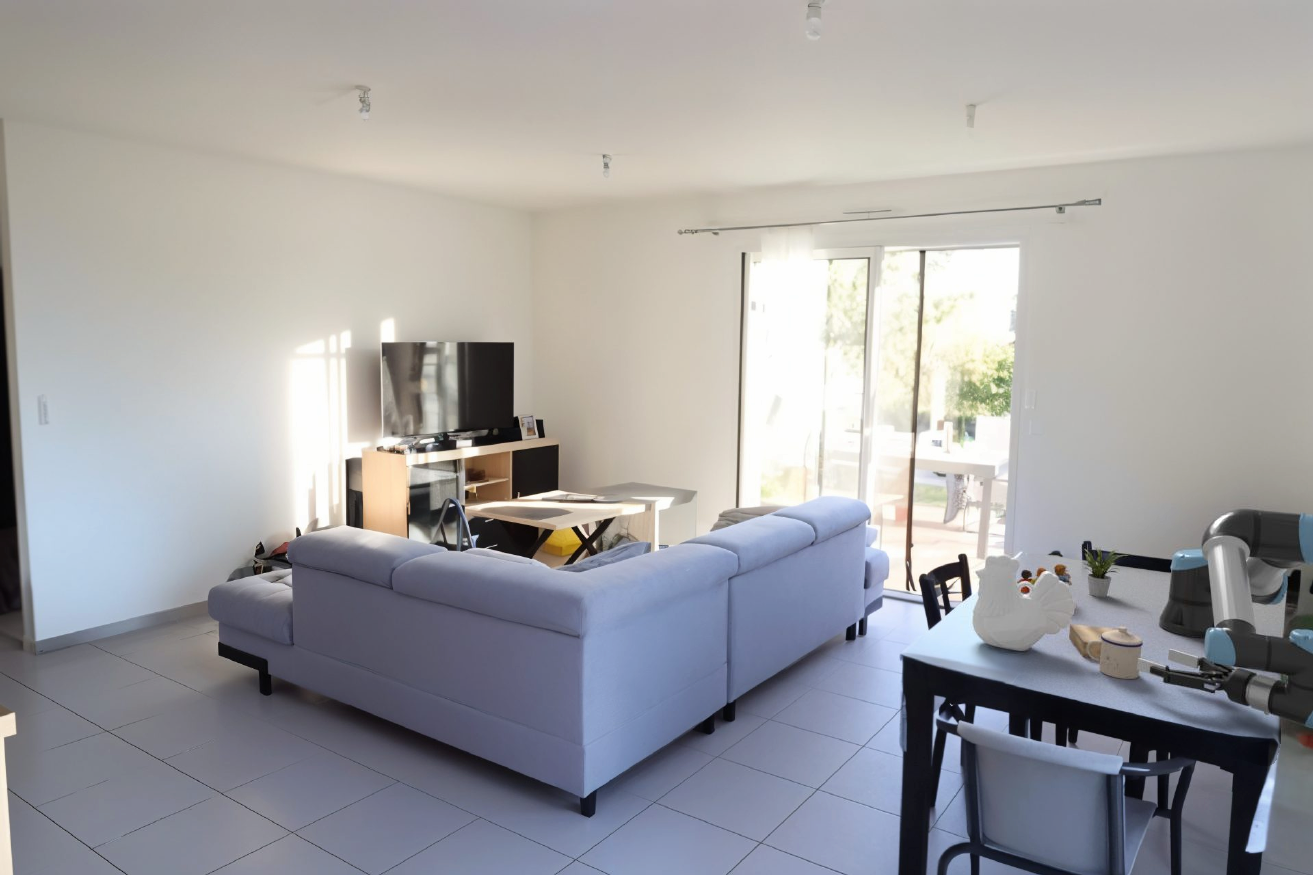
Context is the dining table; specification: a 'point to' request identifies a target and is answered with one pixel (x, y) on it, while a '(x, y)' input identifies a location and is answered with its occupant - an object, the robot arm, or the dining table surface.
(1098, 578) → the house plant
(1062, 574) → the doll family
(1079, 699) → the dining table surface
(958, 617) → the dining table surface
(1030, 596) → the decorative rooster
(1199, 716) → the dining table surface
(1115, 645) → the teacup with lid
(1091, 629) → the oak slab
